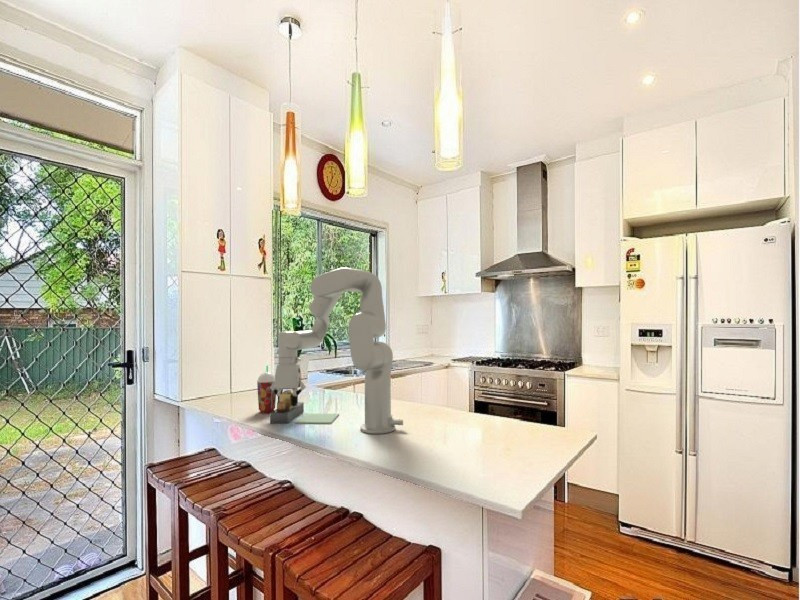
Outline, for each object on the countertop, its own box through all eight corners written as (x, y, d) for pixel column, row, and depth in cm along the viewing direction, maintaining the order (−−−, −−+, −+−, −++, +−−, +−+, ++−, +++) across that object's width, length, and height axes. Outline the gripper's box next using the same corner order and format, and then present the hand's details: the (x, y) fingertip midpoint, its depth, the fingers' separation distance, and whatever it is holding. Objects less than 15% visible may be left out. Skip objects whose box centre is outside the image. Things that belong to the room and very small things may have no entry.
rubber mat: (339, 415, 169) (339, 413, 169) (331, 424, 155) (331, 422, 155) (306, 415, 170) (306, 413, 170) (295, 423, 156) (295, 422, 156)
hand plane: (303, 411, 176) (303, 390, 177) (287, 423, 156) (287, 400, 157) (287, 411, 177) (287, 390, 177) (269, 423, 157) (270, 399, 157)
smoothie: (281, 411, 178) (281, 365, 179) (265, 415, 171) (265, 367, 172) (268, 409, 182) (268, 364, 183) (252, 412, 175) (252, 366, 176)
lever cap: (295, 405, 170) (295, 389, 170) (290, 409, 163) (290, 392, 163) (285, 405, 170) (285, 389, 171) (279, 409, 163) (279, 392, 164)
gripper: (310, 360, 171) (310, 403, 170) (271, 360, 172) (271, 403, 171) (305, 362, 163) (305, 407, 162) (264, 362, 164) (263, 407, 164)
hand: (287, 405), depth 167 cm, fingers open, 5 cm apart
